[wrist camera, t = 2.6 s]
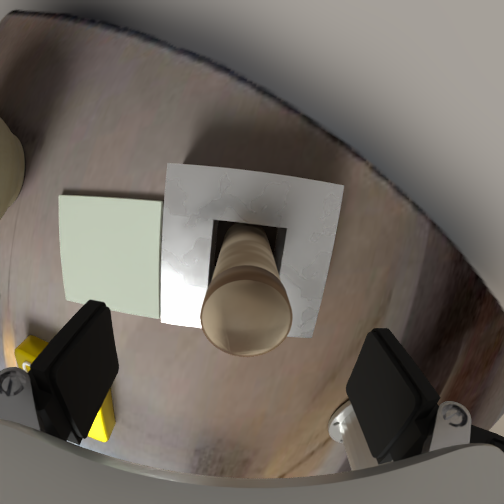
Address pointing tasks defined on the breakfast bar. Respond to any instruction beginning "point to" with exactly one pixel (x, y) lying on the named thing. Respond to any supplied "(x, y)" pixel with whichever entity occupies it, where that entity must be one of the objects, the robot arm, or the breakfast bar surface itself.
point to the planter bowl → (10, 167)
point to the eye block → (253, 212)
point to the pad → (112, 252)
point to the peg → (246, 296)
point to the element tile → (106, 413)
